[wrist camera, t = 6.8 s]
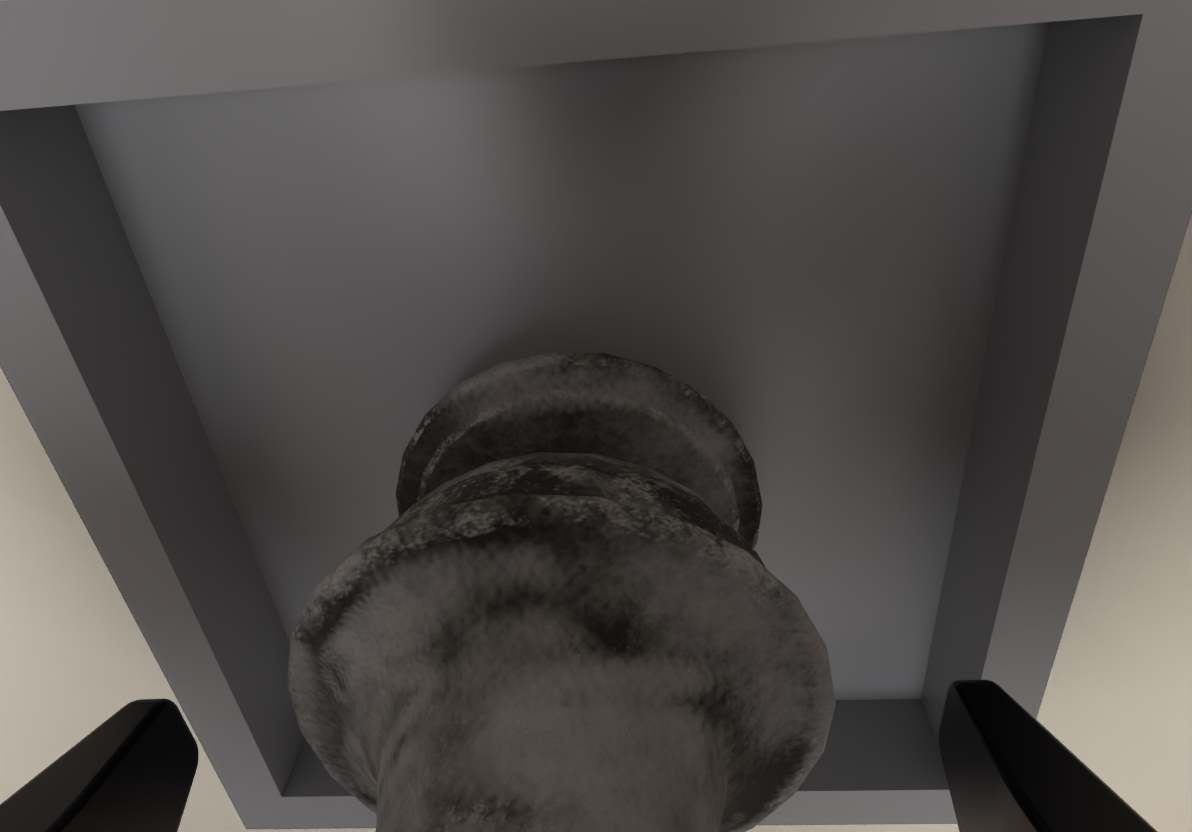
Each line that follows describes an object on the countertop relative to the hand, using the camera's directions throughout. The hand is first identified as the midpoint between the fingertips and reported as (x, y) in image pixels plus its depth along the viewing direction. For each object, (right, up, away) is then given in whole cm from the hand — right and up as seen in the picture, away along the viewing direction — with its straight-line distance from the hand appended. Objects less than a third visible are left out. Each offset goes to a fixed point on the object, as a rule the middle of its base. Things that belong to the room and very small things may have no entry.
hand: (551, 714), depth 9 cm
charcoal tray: (0, +3, +5) cm, 6 cm away
